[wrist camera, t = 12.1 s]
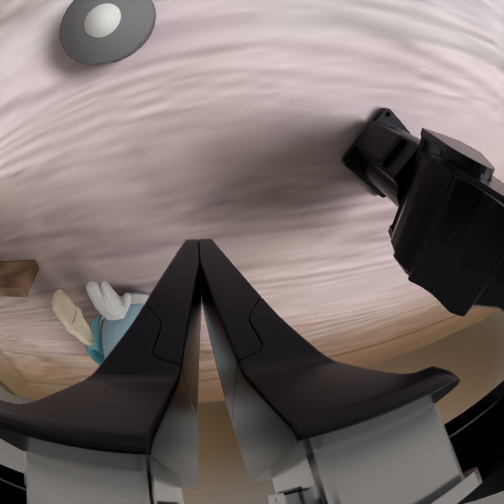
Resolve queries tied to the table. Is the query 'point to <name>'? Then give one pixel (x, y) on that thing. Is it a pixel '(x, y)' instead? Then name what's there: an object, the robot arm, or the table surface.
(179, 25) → the table surface
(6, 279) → the wooden tray
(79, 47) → the wheel
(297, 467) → the robot arm
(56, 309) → the blue winged piece
